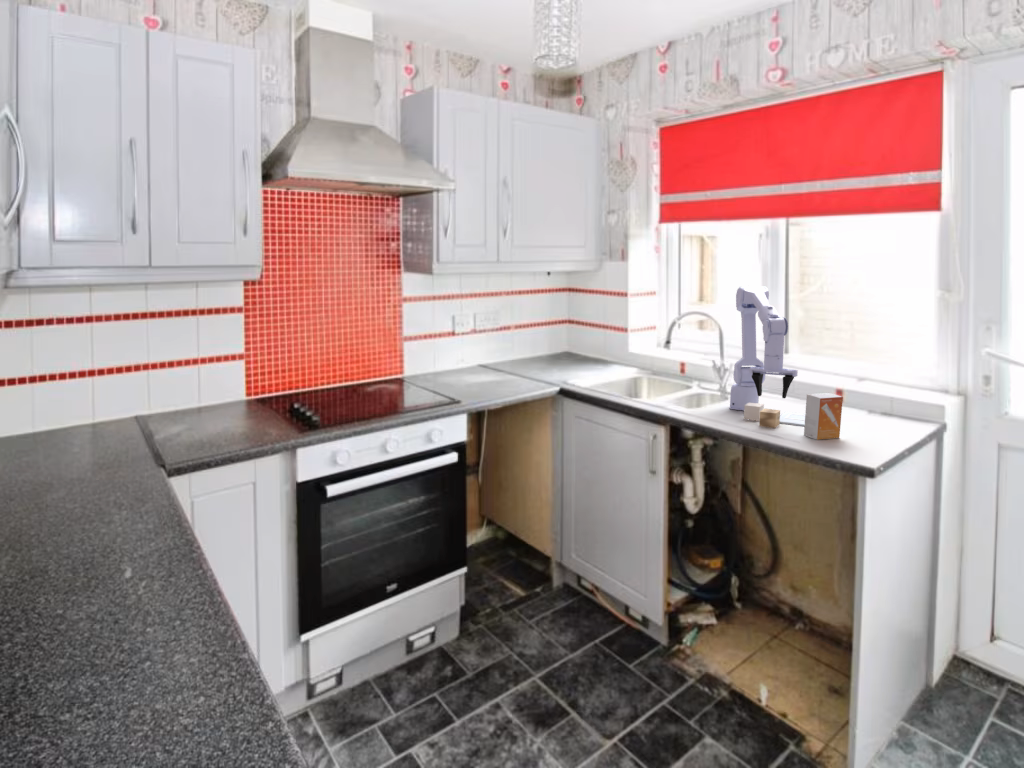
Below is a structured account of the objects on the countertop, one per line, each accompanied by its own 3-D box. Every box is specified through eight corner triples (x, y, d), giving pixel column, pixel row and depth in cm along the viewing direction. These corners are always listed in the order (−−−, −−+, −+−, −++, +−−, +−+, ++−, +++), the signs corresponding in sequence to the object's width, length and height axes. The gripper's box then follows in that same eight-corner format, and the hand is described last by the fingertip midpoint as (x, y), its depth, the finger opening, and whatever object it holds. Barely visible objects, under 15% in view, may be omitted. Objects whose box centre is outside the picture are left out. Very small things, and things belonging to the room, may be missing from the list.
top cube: (743, 419, 224) (744, 405, 223) (748, 416, 227) (749, 402, 226) (758, 421, 221) (759, 406, 220) (763, 418, 224) (763, 404, 224)
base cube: (759, 426, 214) (760, 411, 213) (763, 423, 218) (764, 408, 217) (775, 428, 211) (776, 413, 210) (779, 425, 215) (780, 410, 214)
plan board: (773, 422, 218) (773, 420, 218) (785, 413, 230) (785, 411, 230) (811, 427, 211) (811, 425, 211) (821, 417, 223) (822, 415, 223)
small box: (817, 440, 197) (820, 398, 194) (803, 435, 203) (805, 394, 200) (840, 438, 198) (843, 396, 196) (825, 432, 204) (828, 392, 202)
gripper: (747, 355, 212) (745, 396, 214) (794, 358, 203) (792, 400, 206) (753, 353, 217) (751, 393, 220) (799, 355, 209) (797, 397, 211)
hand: (771, 396), depth 213 cm, fingers open, 7 cm apart
